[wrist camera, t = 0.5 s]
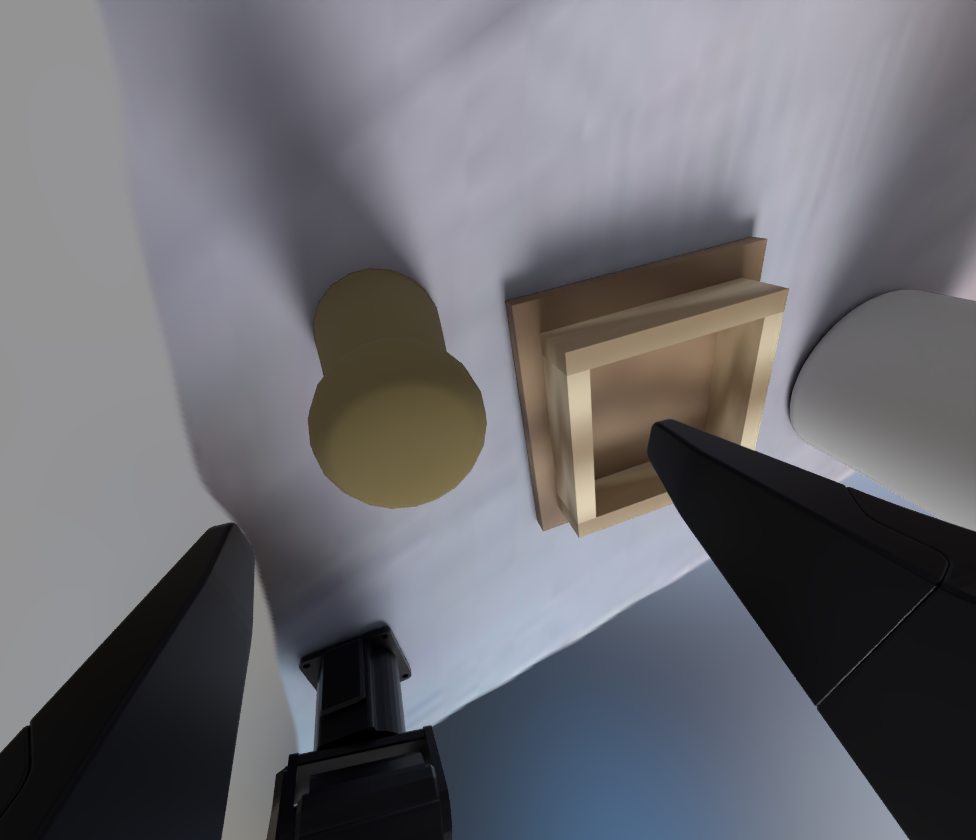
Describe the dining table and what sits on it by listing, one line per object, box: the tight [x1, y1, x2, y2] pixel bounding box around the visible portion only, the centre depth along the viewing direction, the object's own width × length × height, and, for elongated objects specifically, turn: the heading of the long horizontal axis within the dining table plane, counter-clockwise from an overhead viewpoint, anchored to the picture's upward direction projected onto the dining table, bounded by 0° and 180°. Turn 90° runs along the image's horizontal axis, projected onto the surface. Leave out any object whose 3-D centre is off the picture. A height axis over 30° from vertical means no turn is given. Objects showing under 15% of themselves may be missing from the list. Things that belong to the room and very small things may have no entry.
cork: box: [308, 269, 487, 509], centre depth 16 cm, size 6×6×11 cm
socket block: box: [505, 237, 789, 538], centre depth 25 cm, size 16×15×4 cm
